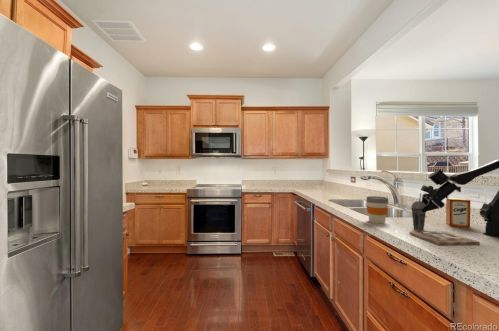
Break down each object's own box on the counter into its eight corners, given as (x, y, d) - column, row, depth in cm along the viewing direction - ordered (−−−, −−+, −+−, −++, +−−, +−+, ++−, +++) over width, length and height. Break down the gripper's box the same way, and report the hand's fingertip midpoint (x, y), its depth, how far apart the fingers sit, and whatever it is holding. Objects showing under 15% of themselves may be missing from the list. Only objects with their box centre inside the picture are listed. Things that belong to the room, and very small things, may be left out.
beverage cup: (407, 228, 144) (408, 192, 144) (416, 227, 147) (417, 192, 146) (420, 231, 137) (420, 194, 137) (429, 230, 140) (430, 193, 140)
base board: (445, 233, 134) (445, 229, 134) (479, 244, 116) (479, 239, 116) (409, 234, 132) (409, 230, 132) (438, 245, 114) (438, 240, 114)
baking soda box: (465, 225, 153) (465, 198, 152) (470, 227, 147) (470, 199, 146) (446, 223, 156) (446, 197, 156) (449, 226, 150) (450, 198, 150)
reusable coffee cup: (368, 223, 156) (368, 198, 156) (364, 218, 168) (364, 195, 168) (391, 224, 153) (391, 199, 153) (385, 219, 165) (385, 196, 165)
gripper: (426, 179, 148) (404, 197, 152) (437, 181, 131) (411, 201, 135) (442, 193, 146) (419, 211, 150) (455, 197, 128) (429, 217, 132)
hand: (419, 210), depth 142 cm, fingers open, 9 cm apart
